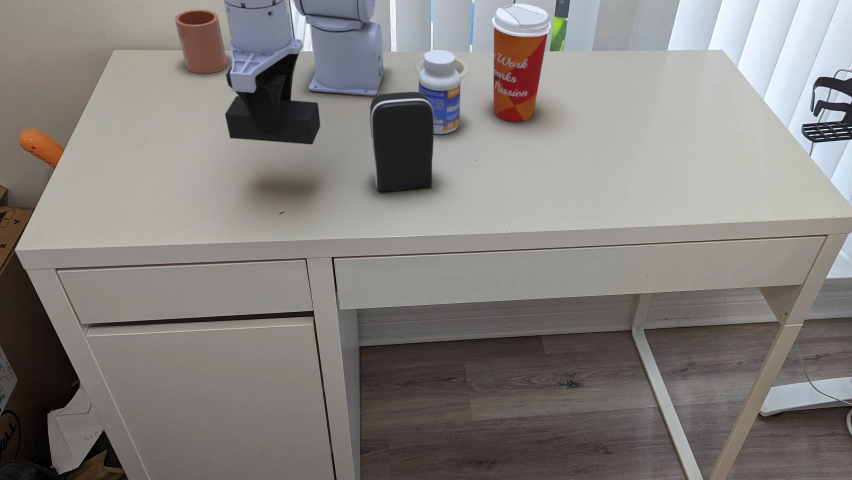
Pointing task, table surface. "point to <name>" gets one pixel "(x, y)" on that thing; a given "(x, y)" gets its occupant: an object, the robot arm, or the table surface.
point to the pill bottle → (441, 89)
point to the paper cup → (518, 59)
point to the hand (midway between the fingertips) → (274, 121)
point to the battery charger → (402, 140)
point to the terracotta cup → (201, 41)
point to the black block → (294, 122)
